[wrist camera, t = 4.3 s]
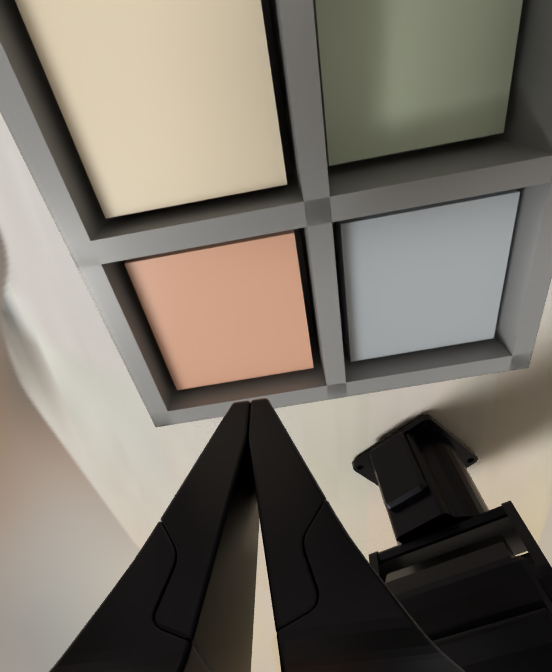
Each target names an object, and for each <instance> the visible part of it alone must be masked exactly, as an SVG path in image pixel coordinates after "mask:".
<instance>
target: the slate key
mask: <svg viewBox="0 0 552 672" xmlns="http://www.w3.org/2000/svg"><path fill="white" fill-rule="evenodd" d="M519 195H520V191H517V190H515V189H512V190H507V191H501V192H496V193H490V194H485V195H479V196H474V197H468V198H463V199H457V200H452V201H446V202H441V203H435V204H430V205H424V206H419V207H413V208H408V209H402V210H397V211H391V212H386V213H380V214H375V215H369V216H364V217H358V218H353V219H347V220H342V221H336V222H334V230H335V242H336V254H337V266H338V278H339V290H340V302H341V314H342V326H343V337H344V344H345V346H346V349H347V352H348V355H349V358H350V361H351V362H352V361H358V360H365V359H371V358H377V357H383V356H389V355H395V354H401V353H407V352H413V351H419V350H425V349H431V348H438V347H444V346H450V345H456V344H462V343H468V342H474V341H480V340H486V339H492V338H494V334H495V328H496V322H497V317H498V311H499V306H500V300H501V295H502V289H503V284H504V278H505V273H506V267H507V262H508V256H509V250H510V245H511V239H512V234H513V228H514V223H515V217H516V212H517V206H518V201H519Z"/></svg>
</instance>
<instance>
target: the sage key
mask: <svg viewBox="0 0 552 672" xmlns="http://www.w3.org/2000/svg"><path fill="white" fill-rule="evenodd" d="M522 3H523V0H313V7H314V19H315V31H316V42H317V54H318V65H319V77H320V88H321V100H322V111H323V123H324V134H325V146H326V158H327V164H328V165H329V166H330V165H336V164H341V163H346V162H351V161H357V160H362V159H367V158H373V157H378V156H383V155H388V154H394V153H399V152H404V151H410V150H415V149H420V148H425V147H431V146H436V145H441V144H447V143H452V142H457V141H462V140H468V139H473V138H478V137H484V136H489V135H494V134H499V133H504V127H505V120H506V113H507V106H508V99H509V92H510V86H511V79H512V72H513V65H514V58H515V51H516V44H517V37H518V31H519V24H520V17H521V10H522Z"/></svg>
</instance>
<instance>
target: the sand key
mask: <svg viewBox="0 0 552 672" xmlns="http://www.w3.org/2000/svg"><path fill="white" fill-rule="evenodd" d="M15 2H16V4H17V7H18V9H19V12H20V14H21V16H22V19H23V21H24V24H25V26H26V28H27V31H28V33H29V36H30V38H31V40H32V43H33V45H34V48H35V50H36V52H37V55H38V57H39V60H40V62H41V64H42V67H43V69H44V72H45V74H46V76H47V79H48V81H49V84H50V86H51V88H52V91H53V93H54V96H55V98H56V100H57V103H58V105H59V108H60V110H61V113H62V115H63V117H64V120H65V122H66V125H67V127H68V129H69V132H70V134H71V137H72V139H73V141H74V144H75V146H76V149H77V151H78V153H79V156H80V158H81V161H82V163H83V165H84V168H85V170H86V173H87V175H88V177H89V180H90V182H91V185H92V187H93V189H94V192H95V194H96V197H97V199H98V201H99V204H100V206H101V209H102V211H103V213H104V216H105V218H111V217H117V216H122V215H127V214H133V213H138V212H143V211H149V210H154V209H159V208H165V207H170V206H175V205H180V204H186V203H191V202H196V201H202V200H207V199H212V198H218V197H223V196H228V195H234V194H239V193H244V192H250V191H255V190H260V189H266V188H271V187H276V186H282V185H287V179H286V172H285V165H284V158H283V151H282V144H281V137H280V130H279V123H278V116H277V109H276V103H275V96H274V89H273V82H272V75H271V68H270V61H269V54H268V47H267V40H266V33H265V26H264V19H263V12H262V5H261V0H15Z"/></svg>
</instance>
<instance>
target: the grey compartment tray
mask: <svg viewBox="0 0 552 672" xmlns="http://www.w3.org/2000/svg"><path fill="white" fill-rule="evenodd" d="M261 5H262V12H263V19H264V26H265V33H266V40H267V47H268V54H269V61H270V68H271V75H272V82H273V89H274V96H275V103H276V109H277V116H278V123H279V130H280V137H281V144H282V151H283V158H284V165H285V172H286V179H287V185H282V186H276V187H271V188H266V189H260V190H255V191H250V192H244V193H239V194H234V195H228V196H223V197H218V198H212V199H207V200H202V201H196V202H191V203H186V204H180V205H175V206H170V207H165V208H159V209H154V210H149V211H143V212H138V213H133V214H127V215H122V216H117V217H111V218H105V216H104V213H103V211H102V209H101V206H100V204H99V201H98V199H97V197H96V194H95V192H94V189H93V187H92V185H91V182H90V180H89V177H88V175H87V173H86V170H85V168H84V165H83V163H82V161H81V158H80V156H79V153H78V151H77V149H76V146H75V144H74V141H73V139H72V137H71V134H70V132H69V129H68V127H67V125H66V122H65V120H64V117H63V115H62V113H61V110H60V108H59V105H58V103H57V100H56V98H55V96H54V93H53V91H52V88H51V86H50V84H49V81H48V79H47V76H46V74H45V72H44V69H43V67H42V64H41V62H40V60H39V57H38V55H37V52H36V50H35V48H34V45H33V43H32V40H31V38H30V36H29V33H28V31H27V28H26V26H25V24H24V21H23V19H22V16H21V14H20V12H19V9H18V7H17V4H16V2H15V0H0V112H1V114H2V116H3V118H4V120H5V122H6V124H7V126H8V129H9V131H10V133H11V135H12V137H13V139H14V141H15V143H16V145H17V147H18V149H19V151H20V153H21V155H22V157H23V159H24V161H25V163H26V165H27V167H28V169H29V171H30V173H31V175H32V177H33V179H34V181H35V183H36V185H37V187H38V189H39V191H40V193H41V195H42V197H43V200H44V202H45V204H46V206H47V208H48V210H49V212H50V214H51V216H52V218H53V220H54V222H55V224H56V226H57V228H58V230H59V232H60V234H61V236H62V238H63V240H64V242H65V244H66V246H67V248H68V250H69V252H70V254H71V256H72V258H73V260H74V262H75V264H76V266H77V269H78V271H79V273H80V275H81V277H82V279H83V281H84V283H85V285H86V287H87V289H88V291H89V293H90V295H91V297H92V299H93V301H94V303H95V305H96V307H97V309H98V311H99V313H100V315H101V317H102V319H103V321H104V323H105V325H106V327H107V329H108V331H109V333H110V335H111V337H112V340H113V342H114V344H115V346H116V348H117V350H118V352H119V354H120V356H121V358H122V360H123V362H124V364H125V366H126V368H127V370H128V372H129V374H130V376H131V378H132V380H133V382H134V384H135V386H136V388H137V390H138V392H139V394H140V396H141V398H142V400H143V402H144V404H145V406H146V409H147V411H148V413H149V415H150V417H151V419H152V421H153V423H154V425H155V427H161V426H167V425H173V424H179V423H186V422H192V421H198V420H204V419H211V418H217V417H223V416H225V415H226V413H227V411H228V410H229V408H230V407H231V405H232V404H233V403H234V402H239V401H246V400H248V401H250V402H251V401H252V400H254V399H261V398H267V399H268V400H269V401H270V403H271V405H272V407H273V408H279V407H286V406H292V405H298V404H304V403H311V402H317V401H323V400H329V399H335V398H342V397H348V396H354V395H360V394H367V393H373V392H379V391H385V390H392V389H398V388H404V387H410V386H417V385H423V384H429V383H435V382H442V381H448V380H454V379H460V378H467V377H473V376H479V375H485V374H491V373H498V372H504V371H510V370H516V369H523V368H529V364H530V360H531V356H532V352H533V348H534V344H535V341H536V337H537V333H538V329H539V325H540V321H541V317H542V313H543V309H544V305H545V301H546V297H547V294H548V290H549V286H550V282H551V278H552V0H523V3H522V10H521V17H520V24H519V31H518V37H517V44H516V51H515V58H514V65H513V72H512V79H511V86H510V92H509V99H508V106H507V113H506V120H505V127H504V133H499V134H494V135H489V136H484V137H478V138H473V139H468V140H462V141H457V142H452V143H447V144H441V145H436V146H431V147H425V148H420V149H415V150H410V151H404V152H399V153H394V154H388V155H383V156H378V157H373V158H367V159H362V160H357V161H351V162H346V163H341V164H336V165H330V166H329V165H328V164H327V158H326V146H325V134H324V123H323V111H322V100H321V88H320V77H319V65H318V54H317V42H316V31H315V19H314V7H313V0H261ZM512 189H515V190H517V191H520V195H519V201H518V206H517V212H516V217H515V223H514V228H513V234H512V239H511V245H510V250H509V256H508V262H507V267H506V273H505V278H504V284H503V289H502V295H501V300H500V306H499V311H498V317H497V322H496V328H495V334H494V338H492V339H486V340H480V341H474V342H468V343H462V344H456V345H450V346H444V347H438V348H431V349H425V350H419V351H413V352H407V353H401V354H395V355H389V356H383V357H377V358H371V359H365V360H358V361H352V362H351V361H350V358H349V355H348V352H347V349H346V346H345V344H344V337H343V326H342V314H341V302H340V290H339V278H338V266H337V254H336V242H335V230H334V222H336V221H342V220H347V219H353V218H358V217H364V216H369V215H375V214H380V213H386V212H391V211H397V210H402V209H408V208H413V207H419V206H424V205H430V204H435V203H441V202H446V201H452V200H457V199H463V198H468V197H474V196H479V195H485V194H490V193H496V192H501V191H507V190H512ZM292 229H293V230H294V235H295V242H296V249H297V256H298V263H299V270H300V277H301V284H302V291H303V298H304V304H305V311H306V318H307V325H308V332H309V339H310V346H311V353H312V360H313V367H314V368H310V369H304V370H298V371H292V372H286V373H280V374H274V375H268V376H262V377H256V378H249V379H243V380H237V381H231V382H225V383H219V384H213V385H207V386H201V387H195V388H189V389H183V390H177V389H176V387H175V384H174V382H173V380H172V377H171V375H170V372H169V370H168V368H167V365H166V363H165V360H164V358H163V356H162V353H161V351H160V348H159V346H158V344H157V341H156V339H155V336H154V334H153V332H152V329H151V327H150V324H149V322H148V320H147V317H146V315H145V312H144V310H143V308H142V305H141V303H140V300H139V298H138V296H137V293H136V291H135V288H134V286H133V283H132V281H131V279H130V276H129V274H128V271H127V269H126V267H125V264H124V263H125V262H126V260H128V259H133V258H139V257H144V256H150V255H155V254H161V253H166V252H172V251H177V250H183V249H188V248H194V247H199V246H205V245H210V244H216V243H221V242H227V241H232V240H238V239H243V238H249V237H254V236H260V235H265V234H271V233H276V232H282V231H287V230H292Z"/></svg>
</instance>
